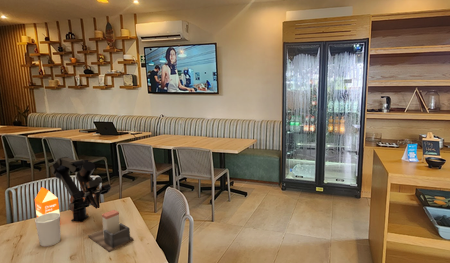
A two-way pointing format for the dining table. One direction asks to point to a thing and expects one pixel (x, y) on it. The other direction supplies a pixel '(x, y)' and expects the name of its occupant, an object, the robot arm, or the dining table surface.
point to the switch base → (112, 238)
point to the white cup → (48, 229)
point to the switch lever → (111, 221)
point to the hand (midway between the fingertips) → (98, 207)
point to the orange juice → (46, 203)
